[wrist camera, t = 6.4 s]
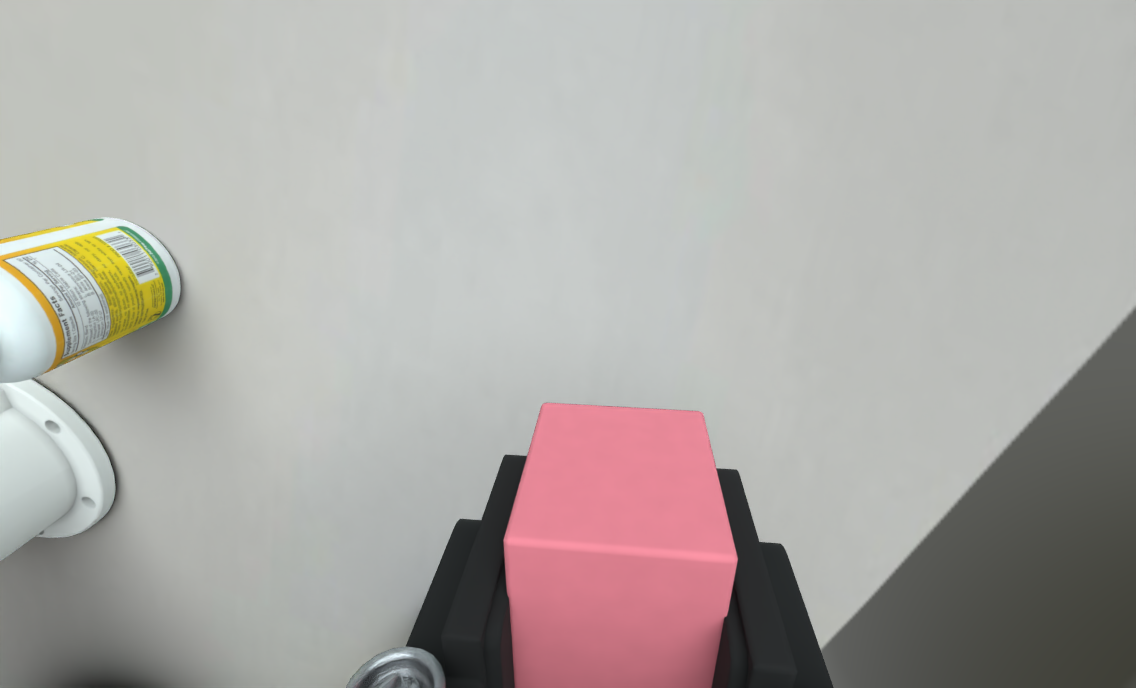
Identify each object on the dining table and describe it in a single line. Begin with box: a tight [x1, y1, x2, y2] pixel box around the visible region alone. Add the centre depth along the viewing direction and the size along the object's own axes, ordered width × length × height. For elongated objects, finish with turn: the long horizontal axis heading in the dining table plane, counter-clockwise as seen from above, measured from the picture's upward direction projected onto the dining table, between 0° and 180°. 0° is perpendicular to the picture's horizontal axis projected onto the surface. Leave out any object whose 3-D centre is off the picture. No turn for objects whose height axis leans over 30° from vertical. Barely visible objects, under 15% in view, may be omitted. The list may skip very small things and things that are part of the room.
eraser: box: [503, 403, 738, 688], centre depth 9 cm, size 5×3×4 cm, turn 0°
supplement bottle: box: [0, 217, 181, 383], centre depth 22 cm, size 5×5×10 cm
